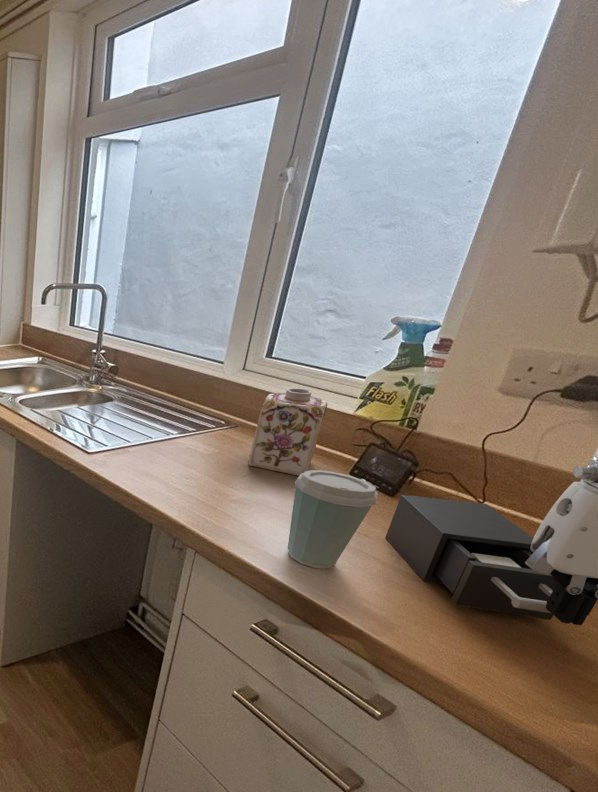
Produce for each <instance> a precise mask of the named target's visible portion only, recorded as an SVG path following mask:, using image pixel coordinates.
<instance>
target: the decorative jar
mask: <svg viewBox="0 0 598 792" xmlns="http://www.w3.org/2000/svg"><path fill="white" fill-rule="evenodd" d="M328 405H329V404H328V402H327V401H325V400H323V399H321V398H318V397H315V396H312V391H311V390H309V389H306V388H300V387H290V388H287V389H286V391H285V392H276V393H269V394H268V395H267V396H266V397H265V398H264V401H263V404H262V405H261V408H260V411H259V416H258V420H257V424H256V427H255V433H254V436H253V441H252V445H251V449H250V454H249V459H248V462H247V465H248V466H250V467H256V468H260V469H264V470H270V471H274V472H279V473H284V474H287V475H288V474H289V475H294V476H298V477H299V475H300V474H301V473H304V472H305V471H309V468H310V466H311V462H312V459H313V457H314V454H315V450H316V447H317V443H318V440H319V437H320V434H321V433H320V432H321V430H322V426H323V421H324V419H325V415H326V412H328V411H327V409H328Z"/></svg>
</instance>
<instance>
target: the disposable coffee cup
mask: <svg viewBox="0 0 598 792" xmlns="http://www.w3.org/2000/svg"><path fill="white" fill-rule="evenodd" d="M294 485H295V489H294V498H293V504H292V512H291V520H290V527H289V534H288V541H287V542H288V543H287V550H288V554H289V557H291V559H293V560H294V561H296V562H298V563H299V564H301V565H305V566H307V567H310V568H314V569H322V570H326V569H330V568H332V567H333V566H334V565H336V563H337V562H338V560H339V559H340V557H341V555H342V554H343V552H344V551H345V549H346V547H347V546H348V544H349V543H350V541H351V540H352V538H353V537H354V535H355V534H356V532H357V530H358V528H359V527H360V526H361V523H362V522H363V521H364V519H365V518H366V516H367V514H368V513H369V511H370V510H371V508H372V507H373V506H376V505H377V501H378V495H379V493H378V491H376V490H377V487H376V486H375V485H373V484H372V483H370V482H369V481H367V480H364V479H361V478H358V477H356V476H353V475H351V474H350V475H349V474H345V473H340V472H337V471H330V470H321V469H313V470H308V471H305V472H304V473H301V474H300V475H299V476H298V477H297V479H296V480H295V482H294Z"/></svg>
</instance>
